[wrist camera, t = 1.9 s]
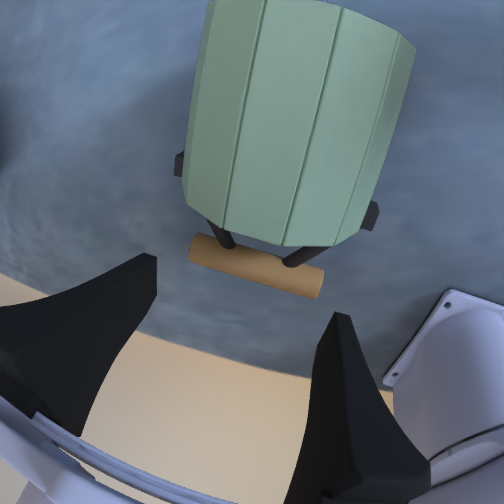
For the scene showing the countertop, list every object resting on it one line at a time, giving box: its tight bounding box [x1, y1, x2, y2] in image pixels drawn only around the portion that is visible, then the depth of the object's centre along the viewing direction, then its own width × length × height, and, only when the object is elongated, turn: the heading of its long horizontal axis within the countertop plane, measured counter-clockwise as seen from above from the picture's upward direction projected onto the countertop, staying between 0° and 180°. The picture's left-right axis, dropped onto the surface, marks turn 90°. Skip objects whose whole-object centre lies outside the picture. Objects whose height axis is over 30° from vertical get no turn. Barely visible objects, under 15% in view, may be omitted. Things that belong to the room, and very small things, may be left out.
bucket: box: [174, 0, 416, 299], centre depth 12 cm, size 7×8×11 cm
